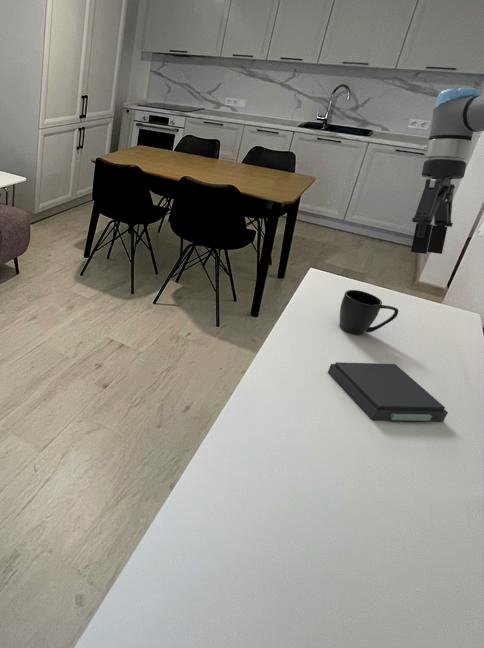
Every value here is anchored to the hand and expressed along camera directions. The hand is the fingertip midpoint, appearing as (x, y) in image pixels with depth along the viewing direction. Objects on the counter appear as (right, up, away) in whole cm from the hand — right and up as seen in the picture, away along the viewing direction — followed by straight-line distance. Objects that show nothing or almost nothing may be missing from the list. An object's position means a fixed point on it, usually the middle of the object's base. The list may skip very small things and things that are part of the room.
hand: (426, 253), depth 114 cm
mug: (-6, -21, +15) cm, 26 cm away
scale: (-17, -30, -9) cm, 36 cm away
